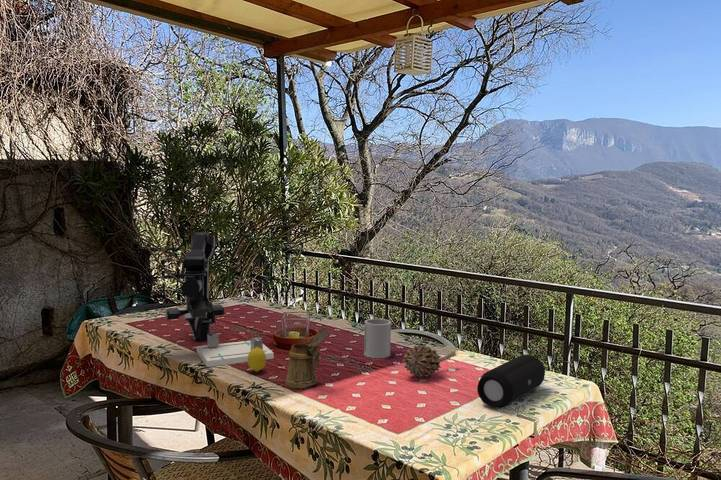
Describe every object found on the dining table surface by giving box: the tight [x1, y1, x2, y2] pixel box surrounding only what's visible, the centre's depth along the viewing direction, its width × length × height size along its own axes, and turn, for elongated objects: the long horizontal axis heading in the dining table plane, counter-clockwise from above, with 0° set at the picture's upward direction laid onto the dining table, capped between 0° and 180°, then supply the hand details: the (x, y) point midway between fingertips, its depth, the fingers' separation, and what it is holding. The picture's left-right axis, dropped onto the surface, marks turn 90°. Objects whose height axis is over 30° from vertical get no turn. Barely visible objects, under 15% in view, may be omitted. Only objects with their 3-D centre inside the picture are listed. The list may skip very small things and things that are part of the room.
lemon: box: [247, 347, 267, 373], centre depth 165 cm, size 6×6×8 cm
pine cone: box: [402, 344, 458, 378], centre depth 166 cm, size 22×10×10 cm, turn 133°
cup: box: [363, 318, 392, 358], centre depth 184 cm, size 9×9×12 cm
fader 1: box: [206, 332, 220, 348], centre depth 184 cm, size 4×3×4 cm
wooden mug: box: [284, 327, 328, 389], centre depth 154 cm, size 9×14×18 cm, turn 54°
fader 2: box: [250, 337, 264, 350], centre depth 179 cm, size 4×3×4 cm
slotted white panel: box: [196, 340, 275, 368], centre depth 182 cm, size 18×22×2 cm
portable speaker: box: [476, 354, 546, 409], centre depth 148 cm, size 26×10×10 cm, turn 139°
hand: (195, 336), depth 181 cm, fingers closed
